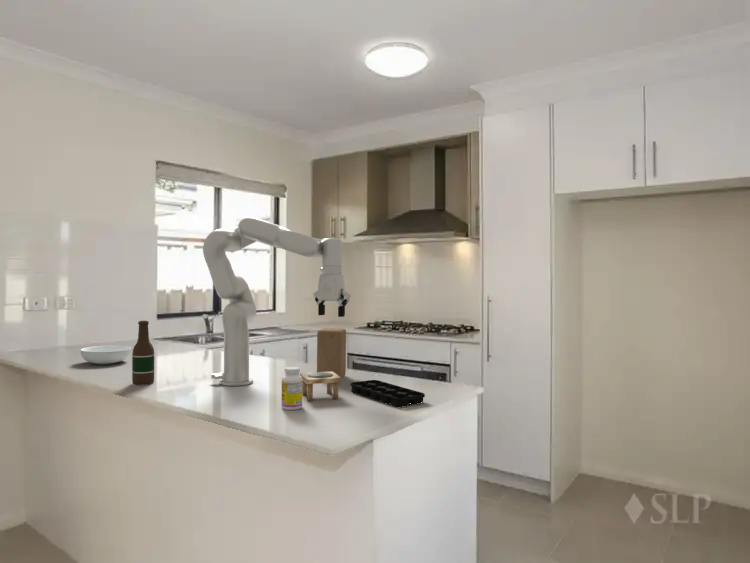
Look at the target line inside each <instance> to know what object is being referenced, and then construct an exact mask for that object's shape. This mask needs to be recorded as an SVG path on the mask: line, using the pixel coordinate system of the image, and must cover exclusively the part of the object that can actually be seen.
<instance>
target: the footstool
mask: <svg viewBox="0 0 750 563" xmlns="http://www.w3.org/2000/svg"><path fill="white" fill-rule="evenodd" d="M299 375H300V376H301V377H302V379H303V383H302V396H307V400H306V401H307V402H313V400H314V397H313V396H314V395H313V394H314V390H313V389H314V385H315V384H316V385H318V384H326V394H328V395H329V394H332V393H333V394H332V399H333V400H339V383H342V378H341V377H340V376H338V375H337V374H335V373H334V372H333V371H330V372H317V371H314V372H299Z"/></svg>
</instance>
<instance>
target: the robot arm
mask: <svg viewBox="0 0 750 563" xmlns="http://www.w3.org/2000/svg"><path fill="white" fill-rule="evenodd" d="M256 242H257V243H261V244H264V245H267V246H269V247H273V248H276V249H281V250H285V251H288V252H290V253H293V254H297V255H300V256H303V257H306V258H307V257H308V258H315V259H316V258H321V267H320V271H321V273H320V275H319V279H318V284H317V291H315V292H313V293H312V294H313V298H314V301H315V302H316V305H317V306H318V309H317V310H318V311H317V312H318V316H325V314H326V305H325V303H326V301H327V302H337V304H338V307H337V308H338V309H337V310H338V311H337V317H338V318H344V317H345V316H346V306H347V304H348V303H349V302H350V301H349V300H350V298H351V294H350V293H349V292H347V291H346V290H345V280H344V275H343V273H342V272H343V270H342V269H343V258H342V257H343V241H342V240H341V238H336V237H328V238H327V237H326V238H317V237H313V236H310V235H309V236H308V235H306V234H302V233H300V232H297V231H293V230H290V229H288V228H286V227H285V226H282V225H279V224H276V223H272V222H270V221H266V220H263V219H260V218H257V217H254V216H245V217H243V218H241V220H239V223H238V226H237V227H236V228H234V229H232V230H230V229H224V228H218V229H215V230H213V231H211V232H210V233H208V235H207V236H206V238H205V240H204V242H203V244H202V254H203V258H204V260H205V264H206V266H207V268H208V271H209V274H210V278H211V280H212V283H213V286H214V288H215V291H216V294H217V296H218V297H219V298H220V299H223V300H226V301H227V300H228V301H229V303H228V304H226V305H225V307H224V308H223V311H222V313H221V314H222V315H221V320H222V322H221V323H222V326H223V327H222V328H223V370H222V372H219V373H215V372H214V373H211V374H210V376H211V379H215V380H219V379H220V380H219V384H220V385H222V386H225V387H226V386H229V387H238V386H239V387H240V386H247V385H251V384H253V382H254V379H253V378H252V377H250V333H249V332H250V330H249V326H248V324H250V323H252V322H254V320H255V318H256V317H257V306H256V303H255V299H254V298H253V295H252V292H251V289H250V287H249V284H248V283H247V281H246V279H244V278H243V277H242V276H239V275H236V274H235V272H234V270H233V267H232V264H231V262H230V260H229V258H228V257H227V255H226V254H227V253H226V252H228V253H234V252H237V251H240V250H242V249H244V248H246V247H248V246H251V245H252V244H254V243H256Z"/></svg>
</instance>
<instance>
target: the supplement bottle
mask: <svg viewBox="0 0 750 563" xmlns="http://www.w3.org/2000/svg"><path fill="white" fill-rule="evenodd" d="M284 372H285V375H283V376H282V377H281V408H282V409H283V410H287V411H292V410H293V411H294V410H295V411H296V410H299V409H301V408H302V407H303V395H302V383H303V379H302V377H301V376H300V373H301V372H300V367H298V366H288V367H284Z"/></svg>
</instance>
